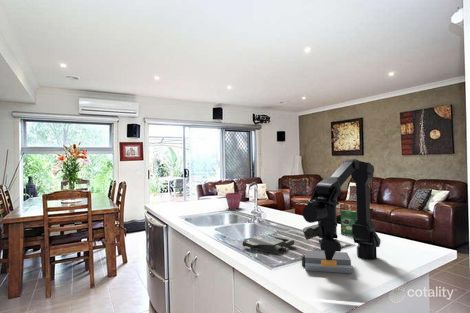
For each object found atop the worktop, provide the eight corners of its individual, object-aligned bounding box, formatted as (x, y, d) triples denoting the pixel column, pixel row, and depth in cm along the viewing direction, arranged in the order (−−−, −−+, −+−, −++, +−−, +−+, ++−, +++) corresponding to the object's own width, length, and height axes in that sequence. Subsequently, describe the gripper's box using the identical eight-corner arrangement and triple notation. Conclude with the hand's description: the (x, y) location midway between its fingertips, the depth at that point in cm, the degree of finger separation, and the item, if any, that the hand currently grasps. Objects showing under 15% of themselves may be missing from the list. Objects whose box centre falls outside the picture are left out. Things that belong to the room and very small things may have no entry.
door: (351, 272, 96) (353, 261, 91) (351, 274, 95) (354, 264, 90) (305, 268, 100) (305, 258, 95) (305, 271, 99) (305, 261, 94)
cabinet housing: (347, 265, 104) (347, 252, 104) (351, 274, 96) (350, 260, 96) (301, 262, 108) (301, 250, 108) (302, 270, 100) (301, 257, 100)
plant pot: (245, 208, 230) (244, 193, 231) (231, 210, 223) (230, 195, 223) (236, 206, 243) (235, 192, 243) (222, 208, 235) (222, 193, 235)
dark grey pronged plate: (282, 257, 114) (281, 245, 114) (241, 249, 125) (241, 238, 125) (295, 247, 128) (295, 236, 128) (257, 240, 139) (257, 230, 139)
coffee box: (357, 234, 144) (356, 210, 144) (357, 236, 141) (356, 211, 141) (341, 233, 148) (340, 209, 148) (340, 234, 145) (340, 210, 145)
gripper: (303, 212, 105) (304, 252, 104) (304, 223, 86) (305, 272, 86) (333, 213, 102) (334, 254, 102) (340, 225, 84) (341, 275, 84)
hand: (328, 263), depth 93 cm, fingers closed, pressing on door
